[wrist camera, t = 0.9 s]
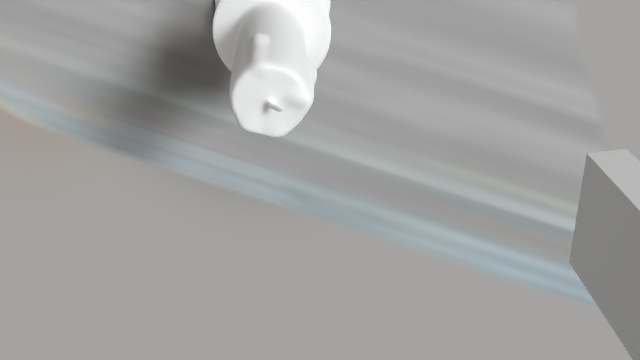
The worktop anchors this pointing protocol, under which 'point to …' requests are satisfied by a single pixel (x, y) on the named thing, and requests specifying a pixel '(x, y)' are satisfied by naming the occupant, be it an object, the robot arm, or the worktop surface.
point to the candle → (271, 59)
